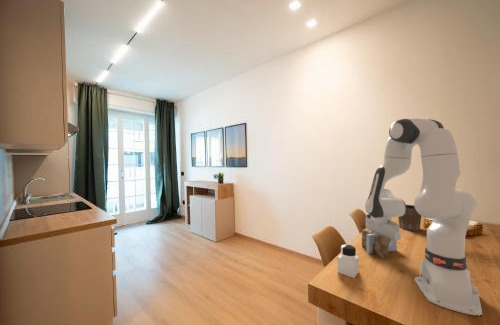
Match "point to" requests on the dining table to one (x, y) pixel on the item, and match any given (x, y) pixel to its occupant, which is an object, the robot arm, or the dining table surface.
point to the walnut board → (376, 244)
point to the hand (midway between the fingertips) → (381, 242)
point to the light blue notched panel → (371, 241)
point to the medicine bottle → (348, 261)
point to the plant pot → (410, 219)
